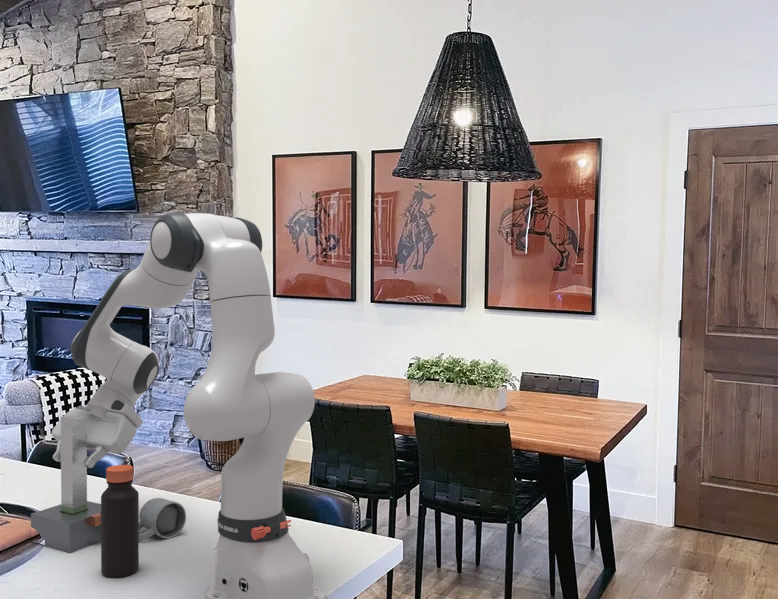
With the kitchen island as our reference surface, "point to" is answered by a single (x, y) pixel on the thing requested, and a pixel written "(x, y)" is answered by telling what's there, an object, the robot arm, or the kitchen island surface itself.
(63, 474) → the column
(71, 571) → the kitchen island surface
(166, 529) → the ceramic mug
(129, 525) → the bottle
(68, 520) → the stand sleeve
